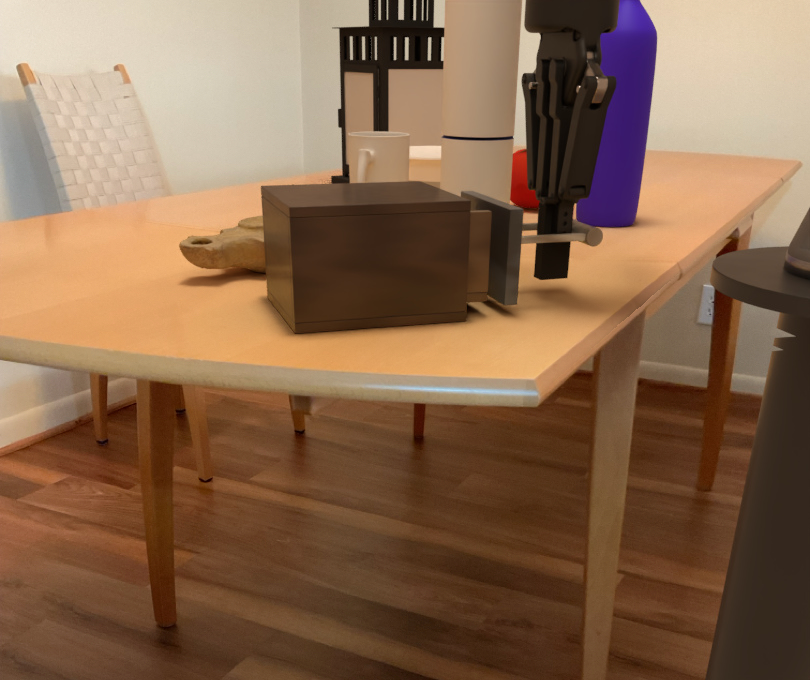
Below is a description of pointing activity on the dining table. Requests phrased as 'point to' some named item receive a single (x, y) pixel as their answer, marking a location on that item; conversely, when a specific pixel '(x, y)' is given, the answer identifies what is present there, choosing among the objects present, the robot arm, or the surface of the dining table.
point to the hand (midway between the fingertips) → (550, 277)
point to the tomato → (521, 182)
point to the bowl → (425, 164)
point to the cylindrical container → (479, 96)
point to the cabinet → (365, 254)
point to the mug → (379, 157)
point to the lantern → (391, 77)
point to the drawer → (506, 247)
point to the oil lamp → (229, 247)
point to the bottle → (623, 120)
